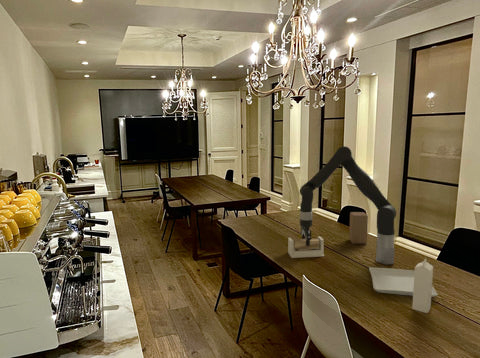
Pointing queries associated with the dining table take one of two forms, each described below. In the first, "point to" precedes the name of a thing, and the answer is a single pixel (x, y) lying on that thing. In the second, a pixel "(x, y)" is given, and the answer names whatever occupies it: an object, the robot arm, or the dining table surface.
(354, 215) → the wooden block
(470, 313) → the dining table surface
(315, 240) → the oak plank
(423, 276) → the milk
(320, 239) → the peg cradle
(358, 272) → the dining table surface
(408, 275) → the square plate
